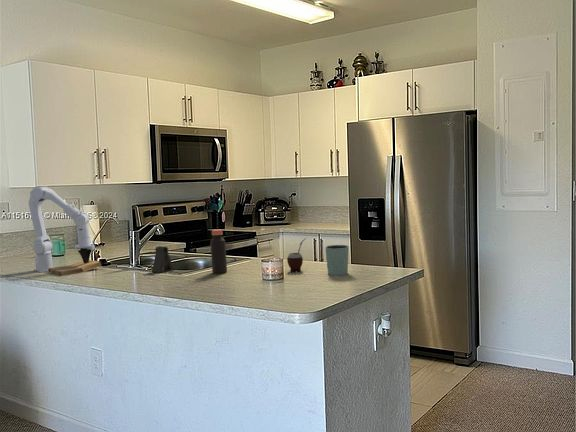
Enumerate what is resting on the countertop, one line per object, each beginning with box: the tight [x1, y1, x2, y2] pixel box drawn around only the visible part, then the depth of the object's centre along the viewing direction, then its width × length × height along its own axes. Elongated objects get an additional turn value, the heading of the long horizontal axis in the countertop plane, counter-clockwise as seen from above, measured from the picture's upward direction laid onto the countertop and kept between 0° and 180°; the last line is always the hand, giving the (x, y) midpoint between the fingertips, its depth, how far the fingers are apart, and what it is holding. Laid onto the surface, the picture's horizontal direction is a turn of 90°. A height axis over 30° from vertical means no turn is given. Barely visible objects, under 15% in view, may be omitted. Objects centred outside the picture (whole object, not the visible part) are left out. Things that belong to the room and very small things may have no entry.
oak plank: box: [67, 259, 102, 273], centre depth 296 cm, size 18×10×2 cm, turn 43°
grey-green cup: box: [325, 244, 350, 277], centre depth 246 cm, size 10×10×12 cm
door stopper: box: [151, 245, 175, 274], centre depth 278 cm, size 9×6×12 cm, turn 139°
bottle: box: [210, 228, 228, 275], centre depth 265 cm, size 7×7×20 cm
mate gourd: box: [287, 237, 307, 273], centre depth 258 cm, size 8×8×15 cm
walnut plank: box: [47, 264, 83, 277], centre depth 289 cm, size 18×10×2 cm, turn 43°
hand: (86, 262), depth 297 cm, fingers closed, pressing on oak plank
